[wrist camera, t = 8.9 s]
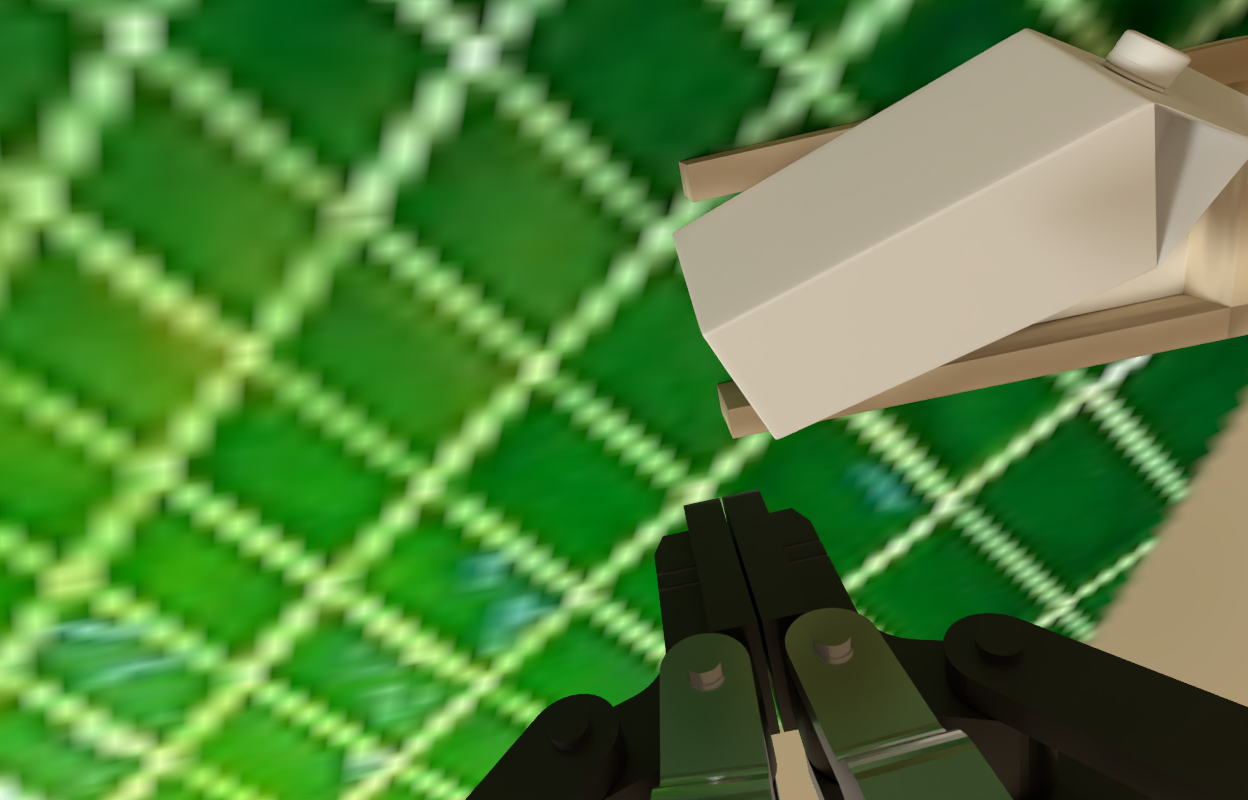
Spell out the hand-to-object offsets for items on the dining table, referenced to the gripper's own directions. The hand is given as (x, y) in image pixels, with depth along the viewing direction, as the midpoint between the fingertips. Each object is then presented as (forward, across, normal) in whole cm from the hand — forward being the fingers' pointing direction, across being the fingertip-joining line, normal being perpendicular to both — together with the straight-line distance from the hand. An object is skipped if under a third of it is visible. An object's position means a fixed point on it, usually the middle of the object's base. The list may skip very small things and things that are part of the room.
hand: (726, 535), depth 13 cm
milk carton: (+16, -2, +2) cm, 17 cm away
